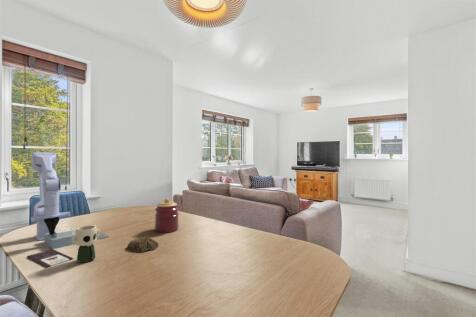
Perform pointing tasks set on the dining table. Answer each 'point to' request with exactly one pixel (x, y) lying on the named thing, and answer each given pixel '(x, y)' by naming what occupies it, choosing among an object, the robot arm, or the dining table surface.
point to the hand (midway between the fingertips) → (51, 234)
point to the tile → (62, 232)
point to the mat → (102, 236)
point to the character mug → (86, 242)
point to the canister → (166, 216)
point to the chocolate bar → (49, 258)
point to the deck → (58, 240)
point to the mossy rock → (142, 244)
